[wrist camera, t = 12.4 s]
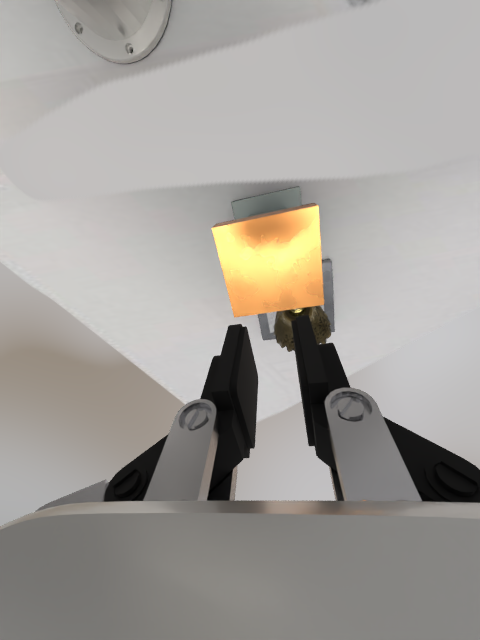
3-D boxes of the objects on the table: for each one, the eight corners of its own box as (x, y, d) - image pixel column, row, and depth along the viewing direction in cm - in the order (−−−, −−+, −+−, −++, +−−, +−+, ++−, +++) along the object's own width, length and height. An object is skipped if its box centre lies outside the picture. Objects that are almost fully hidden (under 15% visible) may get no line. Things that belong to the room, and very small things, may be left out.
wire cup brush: (301, 272, 37) (308, 294, 30) (330, 306, 39) (343, 334, 33) (263, 302, 40) (261, 328, 33) (291, 332, 42) (296, 362, 36)
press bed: (250, 272, 40) (249, 276, 38) (329, 259, 37) (332, 262, 36) (263, 335, 45) (262, 341, 44) (332, 327, 43) (334, 332, 42)
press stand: (232, 201, 35) (217, 212, 25) (298, 186, 33) (312, 191, 23) (245, 264, 39) (237, 296, 29) (304, 253, 37) (318, 283, 27)
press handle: (231, 209, 30) (211, 228, 20) (300, 194, 28) (318, 205, 18) (244, 273, 34) (234, 317, 23) (306, 262, 32) (324, 304, 22)
